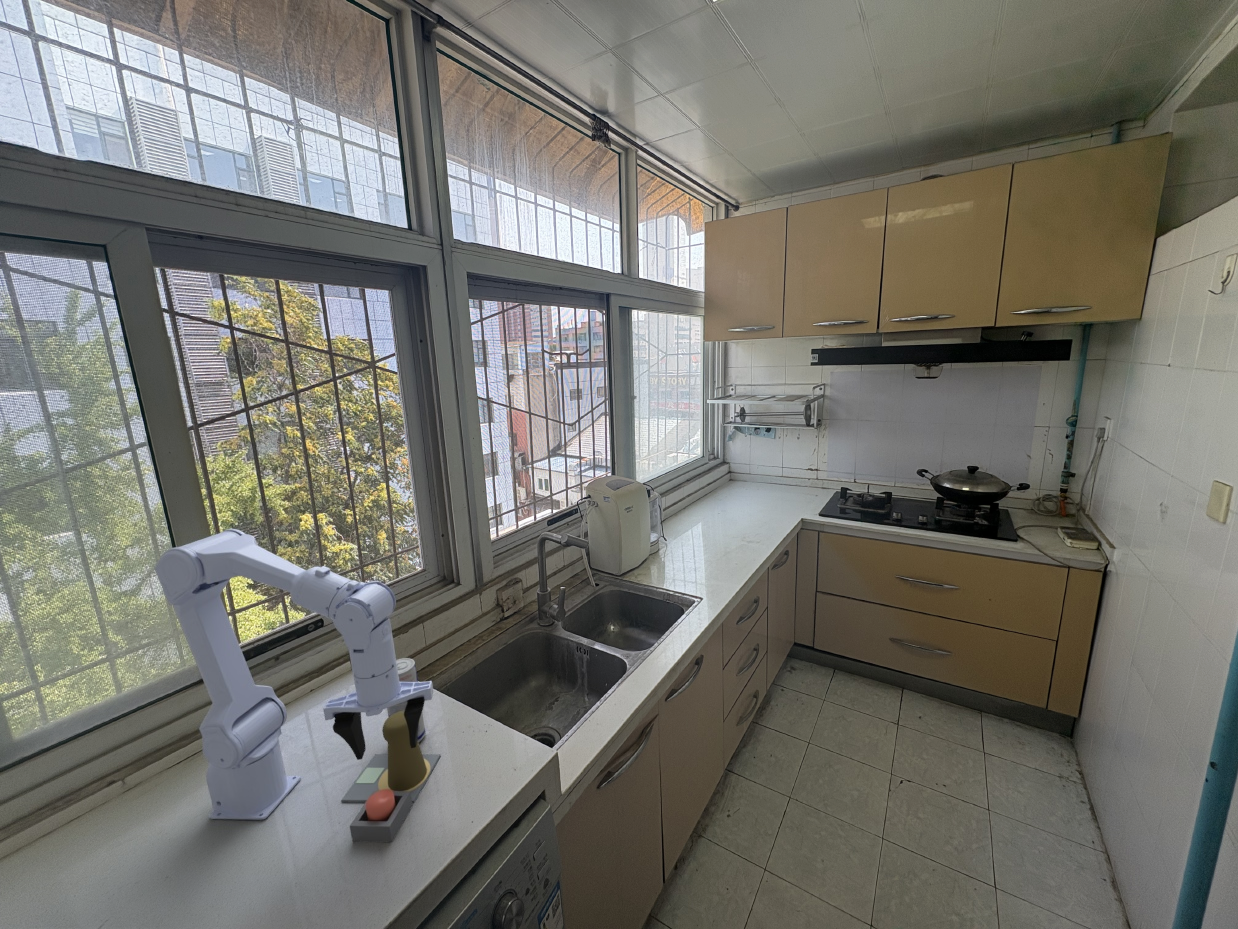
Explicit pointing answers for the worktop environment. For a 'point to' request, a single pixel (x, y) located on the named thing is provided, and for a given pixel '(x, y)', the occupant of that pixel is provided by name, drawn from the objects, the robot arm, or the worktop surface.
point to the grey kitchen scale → (383, 778)
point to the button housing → (382, 829)
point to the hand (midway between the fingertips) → (388, 749)
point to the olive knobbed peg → (402, 755)
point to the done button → (380, 805)
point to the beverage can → (407, 675)
